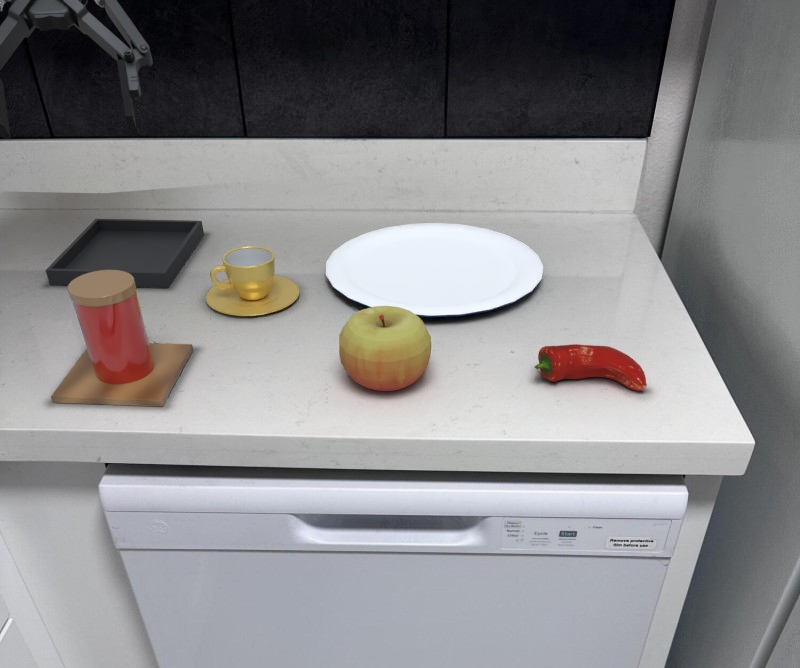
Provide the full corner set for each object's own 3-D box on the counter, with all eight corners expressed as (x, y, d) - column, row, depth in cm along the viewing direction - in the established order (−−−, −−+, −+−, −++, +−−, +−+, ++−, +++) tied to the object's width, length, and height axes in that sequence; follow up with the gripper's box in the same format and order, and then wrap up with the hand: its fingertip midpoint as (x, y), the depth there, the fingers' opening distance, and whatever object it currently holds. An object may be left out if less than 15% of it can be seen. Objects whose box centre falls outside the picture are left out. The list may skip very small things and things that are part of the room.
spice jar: (85, 383, 85) (57, 296, 78) (106, 353, 90) (81, 268, 83) (144, 385, 85) (121, 298, 78) (162, 355, 90) (142, 270, 83)
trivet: (52, 402, 84) (50, 396, 83) (94, 347, 93) (92, 340, 92) (162, 406, 83) (160, 400, 83) (193, 350, 92) (192, 344, 91)
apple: (349, 409, 82) (345, 340, 77) (333, 363, 89) (328, 296, 84) (440, 396, 84) (442, 327, 79) (417, 352, 91) (417, 286, 86)
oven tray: (49, 285, 105) (44, 270, 104) (99, 232, 119) (95, 218, 117) (168, 288, 104) (164, 273, 103) (204, 234, 118) (201, 220, 116)
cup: (287, 271, 108) (282, 232, 104) (310, 309, 99) (306, 267, 96) (199, 285, 105) (191, 245, 101) (215, 325, 96) (207, 283, 93)
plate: (342, 337, 94) (341, 324, 93) (313, 242, 115) (312, 230, 114) (574, 313, 98) (576, 300, 97) (505, 225, 119) (506, 214, 118)
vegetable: (539, 367, 81) (652, 380, 82) (539, 327, 84) (649, 340, 84) (528, 393, 85) (636, 406, 86) (528, 354, 88) (633, 367, 88)
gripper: (159, -35, 94) (186, 138, 93) (-65, -27, 90) (-39, 154, 89) (149, -88, 86) (178, 99, 85) (-96, -81, 82) (-68, 115, 81)
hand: (68, 128), depth 87 cm, fingers open, 13 cm apart
